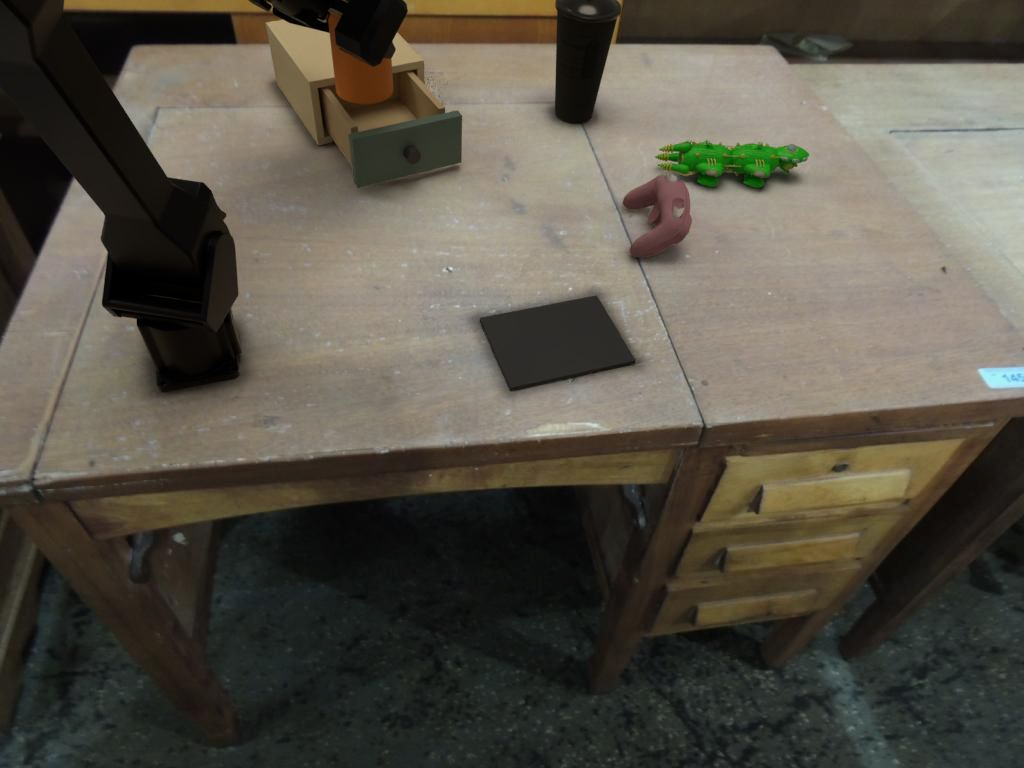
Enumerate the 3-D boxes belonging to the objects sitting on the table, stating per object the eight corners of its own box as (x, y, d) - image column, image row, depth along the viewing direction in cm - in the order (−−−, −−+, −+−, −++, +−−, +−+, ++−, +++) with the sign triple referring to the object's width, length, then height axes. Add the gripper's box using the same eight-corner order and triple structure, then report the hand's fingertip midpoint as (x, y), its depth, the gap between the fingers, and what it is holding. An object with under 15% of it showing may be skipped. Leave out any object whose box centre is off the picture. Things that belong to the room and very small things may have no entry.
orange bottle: (341, 106, 76) (330, 5, 69) (331, 79, 80) (319, -20, 72) (399, 101, 78) (394, 1, 70) (386, 74, 82) (380, -24, 74)
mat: (510, 391, 64) (510, 388, 64) (479, 320, 70) (479, 317, 69) (635, 363, 67) (636, 360, 67) (596, 298, 73) (596, 294, 72)
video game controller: (661, 274, 78) (706, 227, 73) (626, 256, 76) (669, 207, 72) (650, 217, 85) (691, 171, 80) (618, 199, 83) (658, 151, 78)
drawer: (466, 168, 84) (467, 120, 80) (361, 194, 80) (356, 145, 75) (409, 102, 93) (407, 56, 88) (312, 123, 88) (305, 75, 84)
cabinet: (425, 121, 92) (424, 60, 86) (318, 145, 87) (308, 81, 81) (376, 65, 101) (372, 5, 95) (276, 83, 96) (265, 22, 90)
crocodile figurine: (808, 192, 87) (822, 159, 84) (658, 188, 86) (666, 155, 82) (791, 160, 92) (803, 128, 88) (648, 156, 90) (655, 124, 87)
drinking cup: (613, 111, 96) (643, -58, 81) (585, 136, 92) (612, -38, 77) (562, 93, 99) (583, -75, 84) (532, 116, 94) (548, -57, 79)
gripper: (384, -113, 57) (477, -1, 71) (238, -169, 65) (348, -57, 79) (316, 20, 59) (420, 104, 73) (181, -49, 66) (299, 39, 80)
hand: (371, 43), depth 76 cm, fingers closed on orange bottle, 6 cm apart
